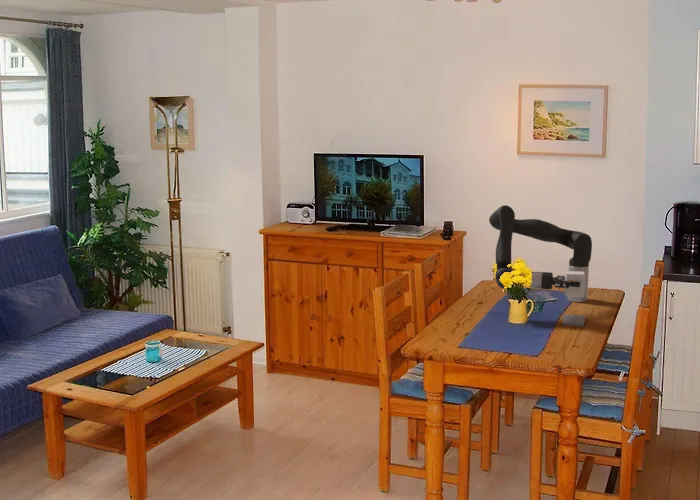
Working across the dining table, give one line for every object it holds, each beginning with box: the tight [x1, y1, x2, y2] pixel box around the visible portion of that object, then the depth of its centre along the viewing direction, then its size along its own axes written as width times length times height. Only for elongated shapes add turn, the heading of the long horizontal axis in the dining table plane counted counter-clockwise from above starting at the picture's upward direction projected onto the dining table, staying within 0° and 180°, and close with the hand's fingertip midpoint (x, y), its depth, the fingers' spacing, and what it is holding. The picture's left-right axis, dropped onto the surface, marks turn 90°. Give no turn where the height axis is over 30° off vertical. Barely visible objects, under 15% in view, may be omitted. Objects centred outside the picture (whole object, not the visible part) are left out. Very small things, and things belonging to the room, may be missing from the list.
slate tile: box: [561, 313, 586, 327], centre depth 379 cm, size 14×9×1 cm, turn 163°
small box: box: [563, 270, 585, 298], centre depth 376 cm, size 8×6×10 cm
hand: (580, 282), depth 375 cm, fingers closed on small box, 6 cm apart
